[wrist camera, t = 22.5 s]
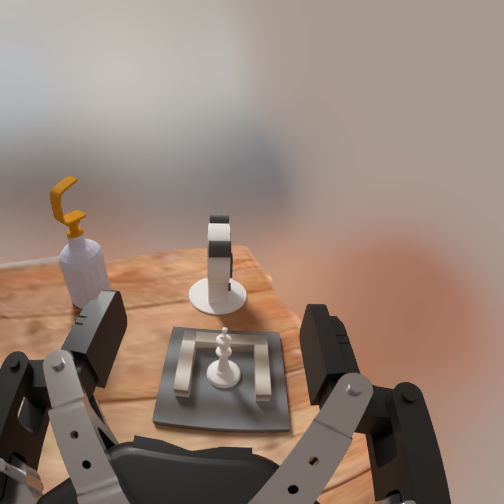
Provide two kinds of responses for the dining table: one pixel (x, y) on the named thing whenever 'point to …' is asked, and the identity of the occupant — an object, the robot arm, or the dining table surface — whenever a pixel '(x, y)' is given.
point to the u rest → (223, 399)
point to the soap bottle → (79, 253)
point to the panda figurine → (218, 274)
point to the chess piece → (223, 364)
